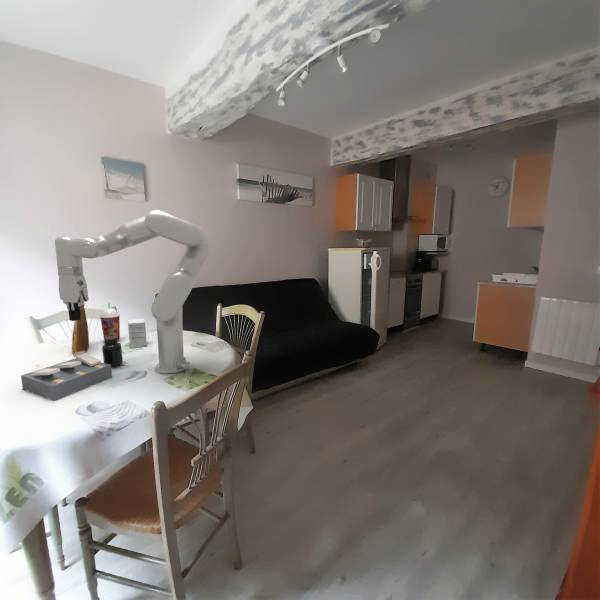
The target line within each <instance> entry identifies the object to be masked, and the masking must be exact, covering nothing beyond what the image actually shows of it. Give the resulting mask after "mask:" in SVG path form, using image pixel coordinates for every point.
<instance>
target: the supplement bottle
mask: <svg viewBox="0 0 600 600" xmlns="http://www.w3.org/2000/svg"><path fill="white" fill-rule="evenodd" d="M103 342H104V344H103V345H102V347H101V350H102V351H101V352H102V359H103V363H106V364H109V365H111V369H114V368H115V369H116V368H120V367H121V366H122V365H123V363H124V361H123V360H124V359H123V350H122V344H121V343H120V342H119V341H118V337H116V336H110V337H106V338H104V337H103Z"/></svg>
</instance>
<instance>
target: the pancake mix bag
mask: <svg viewBox="0 0 600 600" xmlns="http://www.w3.org/2000/svg"><path fill="white" fill-rule="evenodd" d="M80 314H81V319H80V320H76V321H73V322H74V323H73V330H72V338H71V350H72V351H71V352H72V355H73V356H74V353H77V352H81V351H85V352H86V353H87V350H88V348H89V345H90V339H89V338H90V337H89V335H90V333H89V326H88V320H87V319H88V318H87V315H86V309H85V305H84V306H81V309H80Z"/></svg>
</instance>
